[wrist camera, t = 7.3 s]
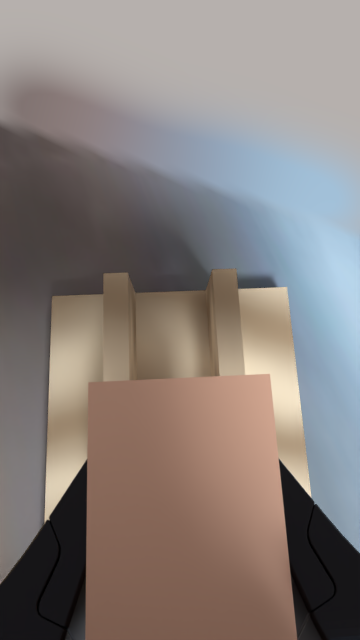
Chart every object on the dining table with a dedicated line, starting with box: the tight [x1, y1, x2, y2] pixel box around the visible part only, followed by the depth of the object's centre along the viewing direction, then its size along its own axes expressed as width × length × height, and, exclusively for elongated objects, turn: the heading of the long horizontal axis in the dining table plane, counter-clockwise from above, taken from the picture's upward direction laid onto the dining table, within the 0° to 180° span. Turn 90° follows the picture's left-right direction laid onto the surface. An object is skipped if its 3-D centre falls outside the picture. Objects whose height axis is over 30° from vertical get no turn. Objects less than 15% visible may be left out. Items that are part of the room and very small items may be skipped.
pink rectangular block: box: [85, 374, 297, 640], centre depth 10 cm, size 4×3×12 cm, turn 3°
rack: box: [44, 269, 311, 523], centre depth 18 cm, size 16×14×5 cm
